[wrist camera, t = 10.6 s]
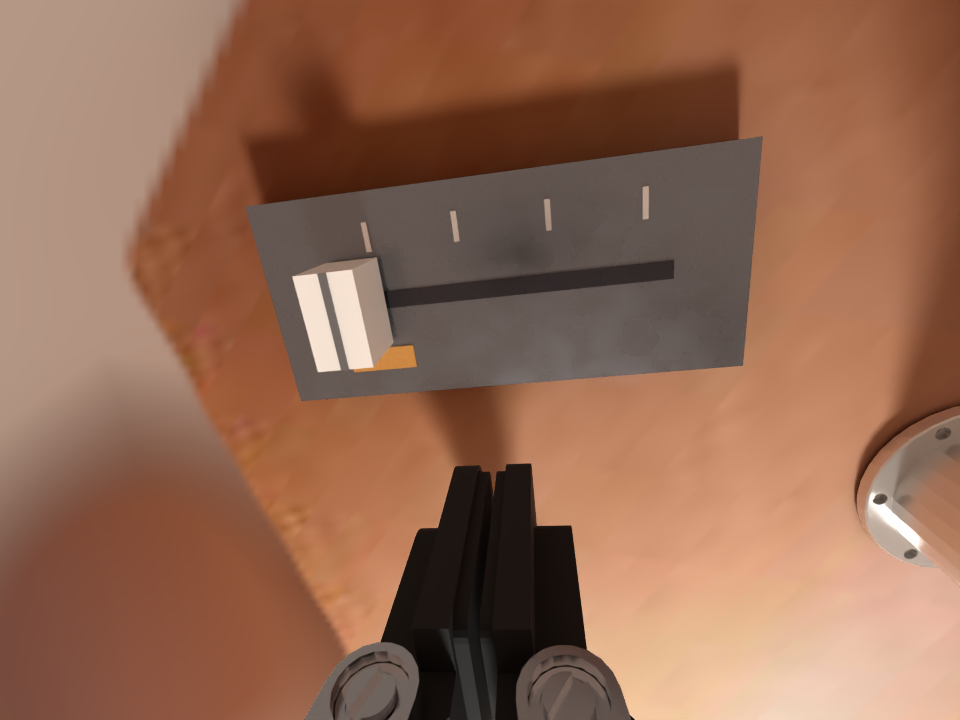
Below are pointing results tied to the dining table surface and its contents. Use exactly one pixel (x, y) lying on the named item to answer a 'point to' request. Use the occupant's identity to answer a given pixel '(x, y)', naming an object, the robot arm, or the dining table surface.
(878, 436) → the dining table surface
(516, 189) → the dimmer panel
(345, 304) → the fader
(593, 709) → the robot arm
